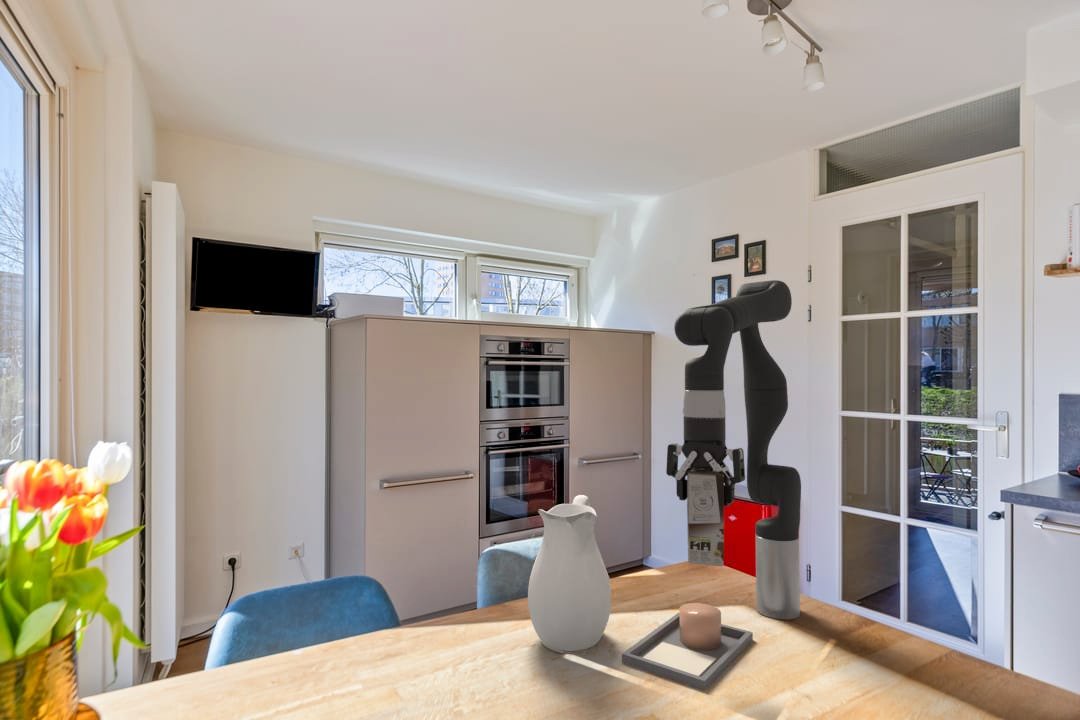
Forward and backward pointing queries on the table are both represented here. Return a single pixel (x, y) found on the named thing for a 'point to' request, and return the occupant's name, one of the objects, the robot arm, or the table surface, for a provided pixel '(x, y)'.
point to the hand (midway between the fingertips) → (704, 502)
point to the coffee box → (705, 517)
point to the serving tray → (685, 654)
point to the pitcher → (569, 580)
